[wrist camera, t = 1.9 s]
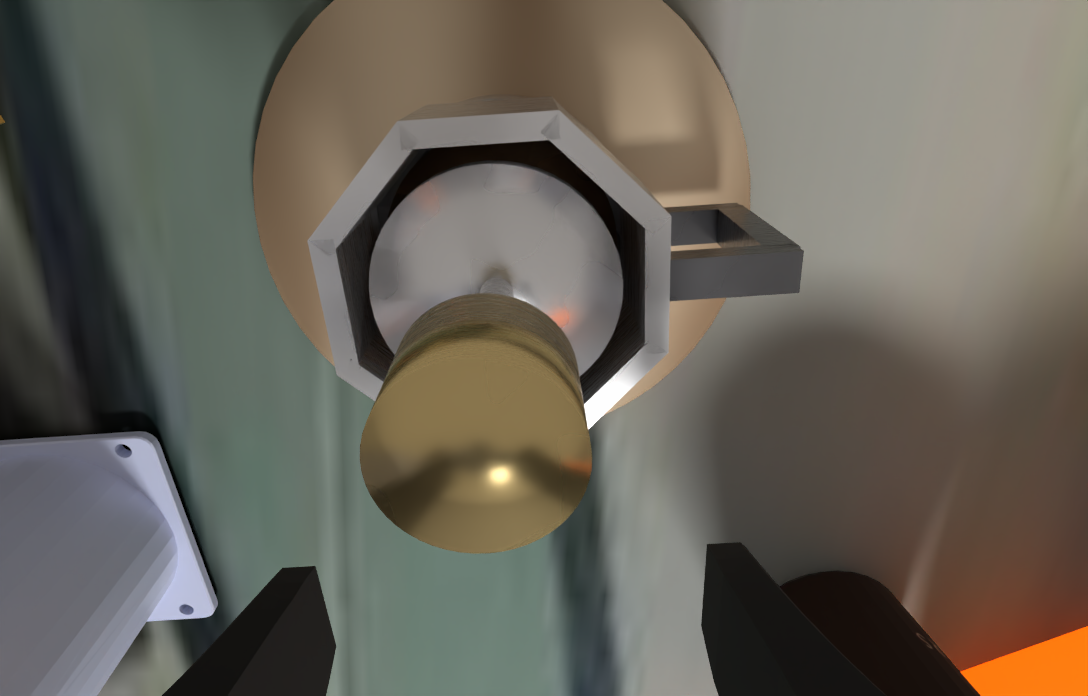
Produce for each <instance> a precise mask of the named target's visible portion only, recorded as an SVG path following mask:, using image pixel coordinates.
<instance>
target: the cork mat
mask: <svg viewBox="0 0 1088 696" xmlns="http://www.w3.org/2000/svg"><path fill="white" fill-rule="evenodd" d="M486 95H518V96H525V97H530V98H533V97H547V96H552V97H553V98H554V99H555V100H556V101H557V102H558V103H559V104H560V105H561V106H562V107H563V108H564V109H565V110H566V111H568V112H569V113H570V114H571V115H572V116H573V117H575V118H576V119H577V120H578V121H580V122H581V123H582V124H583V125H584V126H586V127H587V128H588V129H589V130H590V131H591V132H592V133H593V134H594V135H595V136H596V138H597V139H598V140H599V141H600V142H601V143H602V144H603V146H604V147H605V148H607V149H608V150H609V151H610V152H611V153H612V154H613V155H614V156H615V157H616V158H617V159H618V160H619V161H620V162H621V163H622V164H623V165H624V166H625V167H627V168H628V169H629V170H630V171H631V172H632V173H633V174H634V175H635V176H636V177H637V178H638V179H639V180H640V181H641V182H642V183H643V184H644V185H645V187H646V188H647V189H648V190H649V191H650V192H651V193H652V195H653V196H654V197H655V198H656V199H657V200H658V201H659V203H660V204H661V205H662V206H663V207H664V208H665V207H679V206H694V205H709V204H724V203H738V204H739V205H743V206H744V207H746V208H747V209H748V210H750V171H749V163H748V156H747V148H746V142H745V138H744V134H743V131H742V127H741V123H740V119H739V116H738V112H737V109H736V107H735V104H734V102H733V100H732V97H731V95H730V92H729V90H728V88H727V85H726V83H725V80H724V78H723V77H722V75H721V73H720V72H719V70H718V68H717V66H716V65H715V63H714V61H713V60H712V58H711V56H710V55H709V53H708V51H707V50H706V48H705V47H704V45H703V44H702V43H701V42H700V40H699V39H698V38H697V37H696V35H695V34H694V33H693V32H692V30H691V29H690V28H689V27H688V25H687V24H686V23H685V22H684V20H683V19H682V18H680V17H679V16H678V15H677V14H676V13H675V12H674V11H673V10H672V9H671V8H670V7H669V6H668V5H667V4H666V3H664V2H663V1H662V0H334V1H333V2H332V3H331V4H329V5H328V6H327V7H326V8H325V9H324V10H323V11H322V12H321V13H320V14H319V15H318V16H317V17H316V18H315V19H314V20H313V22H312V23H311V24H310V25H309V27H308V28H307V29H306V31H305V32H304V33H303V35H302V36H301V37H300V38H299V40H298V41H297V42H296V44H295V45H294V46H293V48H292V50H291V51H290V53H289V55H288V57H287V58H286V60H285V62H284V64H283V66H282V67H281V69H280V71H279V73H278V75H277V76H276V78H275V81H274V84H273V86H272V89H271V91H270V94H269V97H268V99H267V102H266V105H265V107H264V110H263V114H262V118H261V123H260V127H259V132H258V136H257V140H256V147H255V159H254V170H253V189H254V208H255V215H256V221H257V226H258V232H259V237H260V242H261V245H262V249H263V252H264V255H265V258H266V261H267V264H268V267H269V270H270V273H271V275H272V278H273V280H274V282H275V284H276V286H277V288H278V291H279V293H280V295H281V297H282V299H283V301H284V303H285V304H286V306H287V308H288V309H289V311H290V312H291V314H292V316H293V317H294V319H295V320H296V322H297V324H298V325H299V327H300V328H301V329H302V331H303V332H304V333H305V334H306V336H307V337H308V338H309V339H310V341H311V342H312V343H313V344H314V346H315V347H316V348H317V349H318V351H319V352H320V353H321V354H322V355H323V356H324V357H325V358H326V359H327V360H328V361H329V362H331V363H332V364H333V365H334V366H335V364H334V360H333V355H332V350H331V346H330V341H329V337H328V332H327V328H326V323H325V319H324V314H323V310H322V305H321V301H320V296H319V291H318V287H317V282H316V278H315V273H314V269H313V264H312V260H311V255H310V251H309V246H308V242H307V241H308V239H309V238H310V237H311V235H312V234H313V233H314V231H315V230H316V229H317V227H318V226H319V225H320V223H321V222H322V221H323V219H324V218H325V217H326V215H327V214H328V213H329V211H330V210H331V209H332V207H333V206H334V205H335V203H336V202H337V201H338V199H339V198H340V197H341V195H342V194H343V193H344V191H345V190H346V189H347V187H348V186H349V185H350V183H351V182H352V181H353V179H354V178H355V177H356V175H357V174H358V173H359V171H360V170H361V169H362V167H363V166H364V165H365V163H366V162H367V161H368V159H369V158H370V157H371V155H372V154H373V153H374V151H375V150H376V149H377V147H378V146H379V145H380V143H381V142H382V141H383V139H384V138H385V137H386V135H387V134H388V133H389V131H390V130H391V129H392V127H393V126H394V125H395V123H396V122H397V121H398V120H400V119H402V118H404V117H405V116H407V115H409V114H411V113H413V112H414V111H416V110H418V109H420V108H422V107H423V106H425V105H430V104H444V103H458V102H460V101H464V100H467V99H471V98H474V97H479V96H486ZM712 248H721V247H720V246H719V245H718V244H717V243H710V244H695V245H680V246H671V251H682V250H697V249H712ZM725 300H726V298H712V299H698V300H683V301H670V308H669V353H668V354H667V355H666V356H665V357H664V358H663V359H662V360H660V361H659V362H658V363H657V364H656V365H655V366H654V367H653V368H652V369H651V370H650V371H649V372H648V373H647V374H646V375H645V376H644V377H643V378H642V379H641V380H640V381H638V382H637V383H636V384H635V385H634V386H633V387H632V388H631V389H630V390H629V391H628V392H627V393H626V394H625V395H624V396H623V397H622V398H621V399H620V400H619V401H617V402H616V403H615V404H614V405H613V406H612V407H611V408H610V409H609V410H608V411H607V412H606V413H605V414H607V413H609V412H611V411H613V410H615V409H617V408H619V407H621V406H623V405H625V404H627V403H629V402H630V401H632V400H634V399H635V398H637V397H638V396H640V395H641V394H643V393H644V392H646V391H647V390H649V389H650V388H652V387H653V386H654V385H656V384H657V383H658V382H659V381H660V380H662V379H663V378H664V377H665V376H666V375H668V374H669V373H670V372H671V371H672V370H674V369H675V368H676V367H677V366H678V364H679V363H680V362H681V361H682V360H683V359H684V358H685V357H686V356H687V355H688V354H689V353H690V352H691V351H692V350H693V349H694V347H695V346H696V345H697V343H698V342H699V341H700V339H701V338H702V337H703V335H704V334H705V333H706V331H707V330H708V328H709V327H710V326H711V324H712V323H713V321H714V319H715V317H716V316H717V314H718V312H719V310H720V308H721V307H722V305H723V303H724V301H725ZM605 414H604V415H605Z"/></svg>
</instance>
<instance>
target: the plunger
mask: <svg viewBox="0 0 1088 696" xmlns="http://www.w3.org/2000/svg"><path fill="white" fill-rule="evenodd" d="M369 293H370V302H371V306H372V310H373V314H374V318H375V320H376V323H377V325H378V328H379V330H380V333H381V334H382V336H383V338H384V340H385V341H386V343H387V345H388V347H389V348H390V349H391V351H392V352H393V353H394V355H395V356H394V359H393V361H392V363H391V366H390V368H389V370H388V373H387V375H386V377H385V380H384V382H383V384H382V387H381V389H380V391H379V394H378V396H377V398H376V401H375V403H374V405H373V408H372V410H371V412H370V415H369V417H368V419H367V422H366V425H365V428H364V430H363V433H362V439H361V444H360V464H361V471H362V475H363V478H364V481H365V484H366V487H367V489H368V491H369V493H370V495H371V497H372V498H373V500H374V501H375V503H376V504H377V506H378V507H379V508H380V510H381V511H382V512H383V513H384V514H385V515H386V517H387V518H389V519H390V520H391V521H392V522H393V523H394V524H395V525H396V526H398V527H399V528H401V529H402V530H403V531H405V532H406V533H408V534H409V535H411V536H413V537H415V538H417V539H418V540H420V541H423V542H425V543H428V544H430V545H432V546H436V547H439V548H442V549H446V550H451V551H456V552H463V553H494V552H502V551H507V550H511V549H516V548H519V547H521V546H524V545H527V544H530V543H532V542H534V541H536V540H538V539H540V538H542V537H544V536H545V535H547V534H549V533H550V532H552V531H553V530H554V529H556V528H557V527H558V526H559V525H561V524H562V523H563V522H564V521H565V520H566V519H567V518H568V517H569V516H570V515H571V514H572V512H573V511H574V510H575V508H576V507H577V506H578V504H579V502H580V501H581V499H582V497H583V495H584V493H585V491H586V488H587V485H588V482H589V478H590V473H591V467H592V453H591V444H590V438H589V432H588V426H587V419H586V413H585V407H584V401H583V395H582V389H581V383H580V376H581V375H582V374H583V373H584V372H585V371H586V370H588V369H589V368H590V367H591V365H592V364H593V363H594V362H595V361H596V360H597V359H598V358H599V356H600V355H601V353H602V352H603V350H604V349H605V347H606V346H607V345H608V343H609V341H610V339H611V337H612V335H613V333H614V330H615V328H616V325H617V322H618V319H619V315H620V310H621V305H622V298H623V277H622V268H621V264H620V259H619V255H618V252H617V249H616V247H615V244H614V241H613V239H612V236H611V234H610V232H609V230H608V228H607V227H606V225H605V223H604V221H603V219H602V218H601V216H600V215H599V214H598V212H597V211H596V209H595V208H594V207H593V205H592V204H591V203H590V202H589V201H588V200H587V199H586V198H585V197H584V196H583V195H582V194H581V193H580V192H579V191H577V190H576V189H575V188H574V187H572V186H571V185H570V184H569V183H567V182H565V181H564V180H562V179H560V178H559V177H557V176H555V175H554V174H552V173H549V172H547V171H544V170H542V169H540V168H537V167H534V166H530V165H527V164H523V163H518V162H511V161H504V160H485V161H478V162H470V163H466V164H462V165H459V166H455V167H452V168H449V169H447V170H445V171H442V172H440V173H438V174H436V175H434V176H432V177H431V178H429V179H427V180H426V181H424V182H423V183H421V184H420V185H419V186H418V187H416V188H415V189H414V190H413V191H411V192H410V193H409V194H408V195H407V196H406V197H405V198H404V200H403V201H402V202H401V203H400V204H399V205H398V206H397V207H396V209H395V210H394V211H393V212H392V214H391V215H390V217H389V218H388V220H387V221H386V223H385V224H384V226H383V228H382V230H381V232H380V234H379V236H378V238H377V241H376V244H375V247H374V250H373V253H372V257H371V263H370V269H369Z"/></svg>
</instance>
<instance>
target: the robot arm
mask: <svg viewBox="0 0 1088 696" xmlns="http://www.w3.org/2000/svg"><path fill="white" fill-rule="evenodd" d="M122 444H123V445H126V446H128V447H129V448H130V449H131V450H132V451H129V450H127V449H125V448H124V447H123V446H122ZM188 605H190V606H188ZM217 605H218V602H217V598H216V595H215V593H214V590H213V587H212V585H211V582H210V579H209V576H208V574H207V571H206V568H205V566H204V563H203V560H202V557H201V555H200V552H199V549H198V547H197V544H196V541H195V538H194V536H193V533H192V530H191V527H190V525H189V522H188V519H187V517H186V514H185V511H184V508H183V506H182V503H181V500H180V498H179V495H178V492H177V489H176V487H175V484H174V481H173V479H172V476H171V473H170V470H169V468H168V465H167V462H166V460H165V457H164V454H163V451H162V449H161V446H160V443H159V442H158V440H157V438H156V437H154V436H153V435H152V434H150V433H147V432H143V431H135V432H120V433H105V434H90V435H75V436H60V437H45V438H30V439H15V440H0V696H97V695H98V693H99V692H100V690H101V689H102V687H103V686H104V684H105V683H106V681H107V680H108V678H109V677H110V675H111V674H112V672H113V671H114V669H115V668H116V666H117V665H118V663H119V662H120V660H121V659H122V657H123V656H124V654H125V653H126V651H127V650H128V648H129V647H130V645H131V644H132V642H133V641H134V639H135V638H136V636H137V635H138V633H139V632H140V630H141V629H142V627H143V626H144V624H145V623H146V621H160V620H175V619H190V618H205V617H209V616H211V615H212V614H213V612H214V611H215V609H216V607H217ZM701 626H702V631H703V635H704V640H705V644H706V649H707V653H708V658H709V662H710V666H711V670H712V675H713V679H714V683H715V686H716V689H717V692H718V695H719V696H887V695H885V694H884V693H883V692H882V691H881V690H880V689H879V688H878V687H877V686H876V685H874V684H873V683H872V682H871V681H870V680H869V679H868V678H867V677H866V676H865V675H864V674H863V673H862V672H861V671H860V670H859V669H857V668H856V667H855V666H854V665H853V664H852V663H851V662H850V661H849V660H848V659H847V658H846V657H845V656H844V655H843V654H842V653H841V652H840V651H839V650H838V649H837V648H836V647H835V646H834V645H833V644H832V643H831V642H830V641H829V640H828V639H827V638H826V637H825V636H824V635H823V634H822V633H821V632H820V630H819V629H818V628H817V627H816V626H815V625H814V624H813V623H812V622H811V621H810V620H809V619H808V618H807V617H806V616H805V615H804V614H803V613H802V612H801V610H800V609H799V608H798V607H797V606H796V605H795V604H794V603H793V602H792V601H791V599H790V598H789V597H788V596H787V595H786V594H785V593H784V592H783V590H782V589H781V588H780V587H779V586H778V585H777V584H776V582H775V581H774V580H773V579H772V578H771V577H770V576H769V574H768V573H767V572H766V571H765V570H764V568H763V567H762V566H761V565H760V564H759V563H758V561H757V560H756V559H755V558H754V557H753V555H752V554H751V553H750V552H749V551H748V549H747V548H746V547H745V546H744V545H743V544H742V543H740V542H739V543H721V544H707V553H706V567H705V581H704V595H703V609H702V624H701ZM335 649H336V644H335V640H334V636H333V632H332V628H331V624H330V620H329V617H328V613H327V609H326V605H325V601H324V597H323V594H322V590H321V586H320V582H319V578H318V574H317V570H316V567H315V566H310V567H292V568H282V569H281V570H280V571H279V572H278V573H277V574H276V575H275V576H274V578H273V579H272V580H271V581H270V582H269V583H268V584H267V585H266V586H265V587H264V588H263V589H262V590H261V592H260V593H259V594H258V595H257V596H256V597H255V598H254V599H253V600H252V601H251V603H250V604H249V605H248V606H247V607H246V608H245V609H244V610H243V611H242V612H241V614H240V615H239V616H238V617H237V618H236V619H235V620H234V621H233V622H232V623H231V625H230V626H229V627H228V628H227V629H226V630H225V631H224V632H223V633H222V634H221V635H220V636H219V637H218V639H217V640H216V641H215V642H214V643H213V644H212V645H211V646H210V647H209V648H208V649H207V650H206V651H205V652H204V653H203V654H202V655H201V657H200V658H199V659H198V660H197V661H196V662H195V663H194V664H193V665H192V666H191V667H190V668H189V669H188V670H187V671H186V672H185V673H184V674H183V675H182V676H181V677H180V678H179V679H178V680H177V681H176V682H175V683H174V684H173V685H172V686H171V687H170V688H169V689H168V690H167V691H166V692H165V693H164V694H163V695H162V696H326V693H327V688H328V684H329V679H330V674H331V669H332V664H333V659H334V654H335Z"/></svg>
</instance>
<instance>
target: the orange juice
mask: <svg viewBox="0 0 1088 696" xmlns="http://www.w3.org/2000/svg"><path fill="white" fill-rule="evenodd" d="M961 674H962V675H963V676H964V677H965V678H966V679H967V680H968V682H969V683H970V684H971V685H972V686H973V687H974V688H975V690H976V691H977V692H978V693H979V694H980V695H981V696H1088V626H1087V627H1084V628H1081V629H1078V630H1076V631H1073V632H1070V633H1067V634H1064V635H1062V636H1059V637H1056V638H1053V639H1050V640H1048V641H1045V642H1042V643H1039V644H1036V645H1034V646H1031V647H1028V648H1025V649H1022V650H1020V651H1017V652H1014V653H1011V654H1008V655H1006V656H1003V657H1000V658H997V659H994V660H992V661H989V662H986V663H983V664H980V665H978V666H975V667H972V668H969V669H966V670H964V671H961Z"/></svg>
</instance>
